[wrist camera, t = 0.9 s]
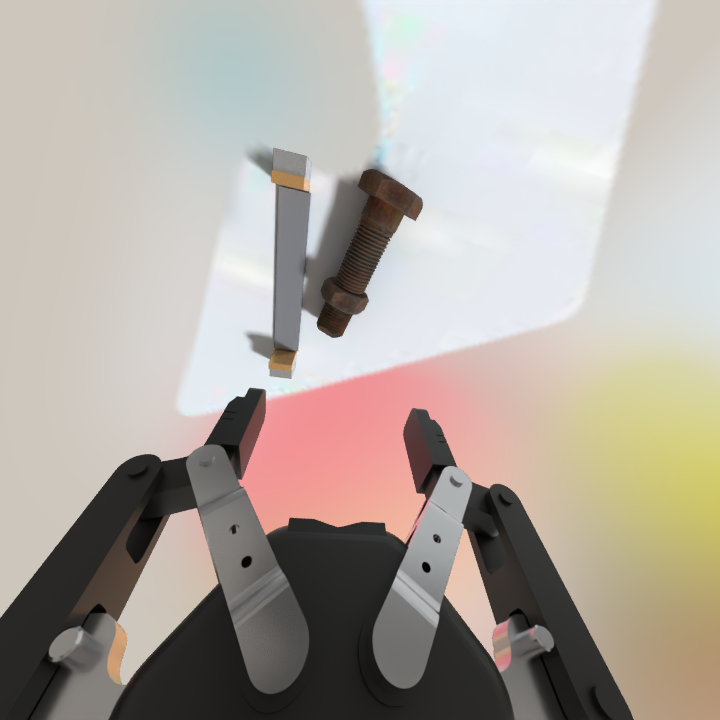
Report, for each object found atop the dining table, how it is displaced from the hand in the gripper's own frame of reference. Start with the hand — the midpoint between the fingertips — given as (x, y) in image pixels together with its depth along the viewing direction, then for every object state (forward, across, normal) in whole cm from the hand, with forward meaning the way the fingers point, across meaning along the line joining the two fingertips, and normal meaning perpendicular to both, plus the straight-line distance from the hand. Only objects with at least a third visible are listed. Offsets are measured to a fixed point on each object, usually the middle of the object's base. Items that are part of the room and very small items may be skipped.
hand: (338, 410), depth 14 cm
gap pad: (+18, +6, -1) cm, 19 cm away
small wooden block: (+17, +6, +8) cm, 20 cm away
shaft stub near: (+18, +6, -11) cm, 22 cm away
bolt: (+18, -1, -4) cm, 19 cm away
